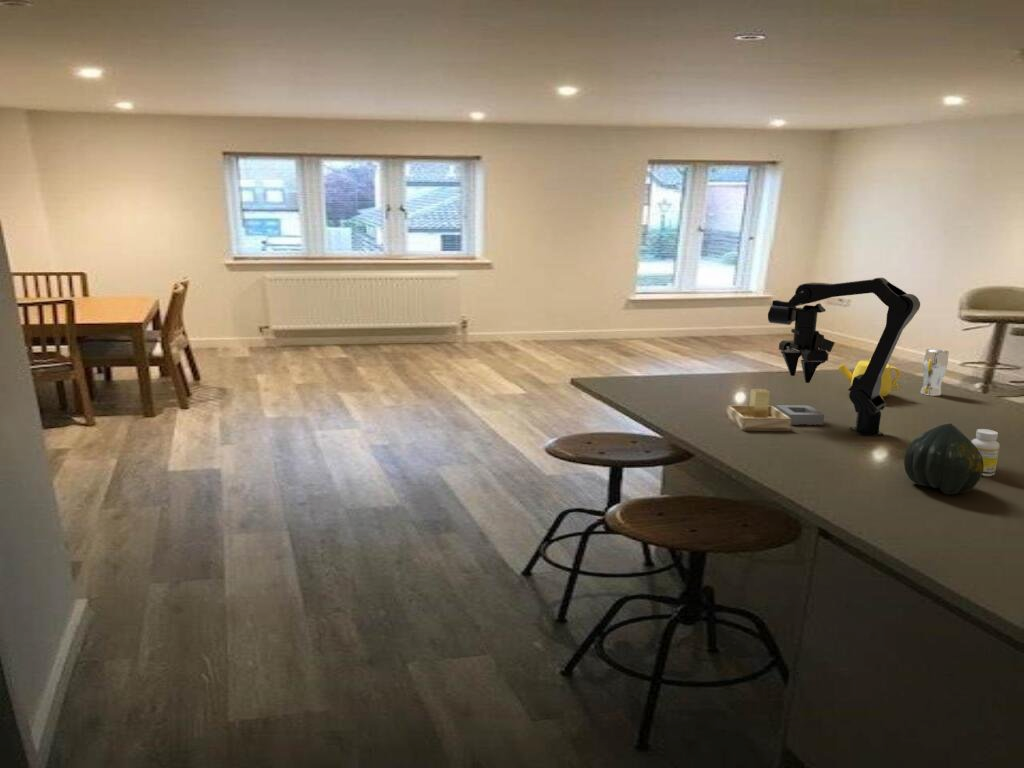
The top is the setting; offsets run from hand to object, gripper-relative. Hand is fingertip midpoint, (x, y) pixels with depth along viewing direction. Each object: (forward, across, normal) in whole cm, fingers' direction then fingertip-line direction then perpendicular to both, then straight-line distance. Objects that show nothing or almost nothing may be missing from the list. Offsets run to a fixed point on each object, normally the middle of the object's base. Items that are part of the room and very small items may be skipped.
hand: (799, 379), depth 208 cm
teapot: (+12, +26, -37) cm, 47 cm away
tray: (+12, -6, +14) cm, 19 cm away
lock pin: (+11, -6, +14) cm, 19 cm away
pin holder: (+12, -2, 0) cm, 12 cm away
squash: (+13, -54, -6) cm, 56 cm away
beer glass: (+12, +27, -61) cm, 68 cm away
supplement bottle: (+13, -46, -23) cm, 53 cm away
